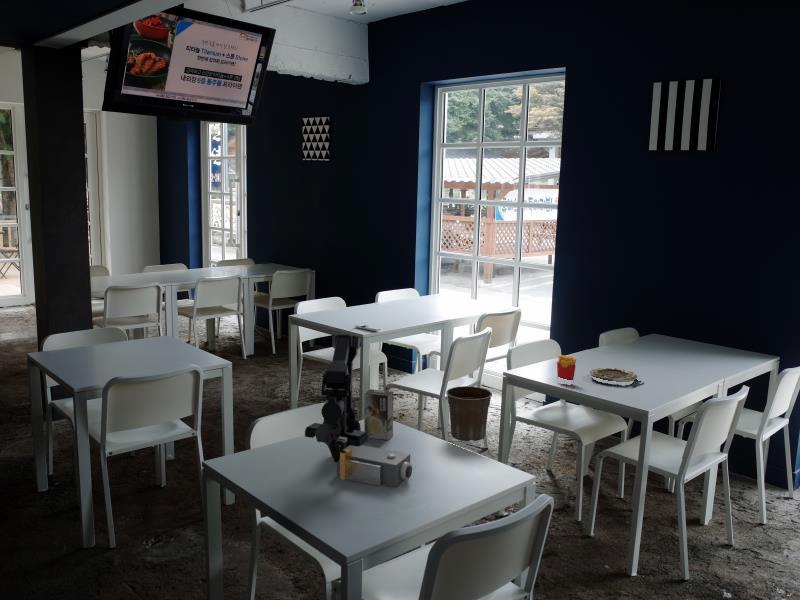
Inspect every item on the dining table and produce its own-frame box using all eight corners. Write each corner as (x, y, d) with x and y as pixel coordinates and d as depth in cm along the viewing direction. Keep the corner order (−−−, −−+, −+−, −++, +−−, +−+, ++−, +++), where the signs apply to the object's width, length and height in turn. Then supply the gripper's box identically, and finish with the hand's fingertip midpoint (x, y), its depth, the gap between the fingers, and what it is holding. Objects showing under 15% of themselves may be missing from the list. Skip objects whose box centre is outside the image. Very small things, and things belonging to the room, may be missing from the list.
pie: (622, 392, 316) (622, 381, 315) (570, 381, 336) (570, 370, 335) (654, 382, 335) (654, 372, 334) (602, 372, 355) (603, 362, 354)
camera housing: (336, 475, 216) (336, 451, 215) (352, 464, 225) (352, 441, 224) (401, 489, 207) (402, 464, 205) (416, 477, 216) (416, 453, 215)
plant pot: (480, 447, 243) (481, 401, 241) (437, 438, 251) (438, 394, 248) (497, 433, 257) (499, 390, 255) (456, 426, 265) (457, 384, 262)
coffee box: (394, 435, 254) (394, 391, 251) (387, 440, 248) (388, 395, 245) (369, 431, 257) (370, 388, 254) (363, 437, 251) (363, 393, 248)
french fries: (554, 382, 330) (556, 355, 328) (560, 380, 333) (561, 353, 331) (571, 386, 323) (573, 358, 321) (576, 384, 326) (578, 357, 324)
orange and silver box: (340, 483, 209) (340, 452, 208) (348, 477, 214) (348, 447, 212) (373, 491, 204) (373, 458, 203) (381, 484, 209) (382, 453, 208)
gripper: (294, 413, 205) (294, 465, 207) (350, 423, 197) (350, 477, 199) (315, 404, 215) (315, 453, 217) (369, 413, 207) (368, 464, 209)
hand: (336, 462), depth 211 cm, fingers closed
